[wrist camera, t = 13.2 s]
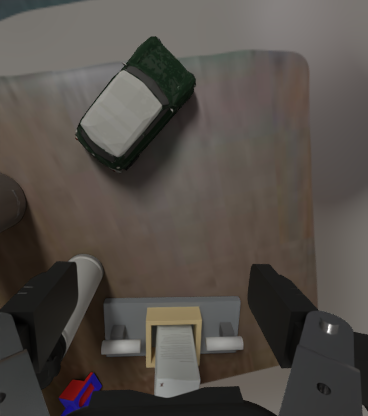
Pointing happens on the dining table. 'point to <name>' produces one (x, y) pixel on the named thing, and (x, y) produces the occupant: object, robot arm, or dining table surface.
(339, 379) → the robot arm
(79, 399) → the toy building block
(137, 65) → the miniature car
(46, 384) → the travel mug
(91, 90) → the dining table surface
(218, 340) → the stand
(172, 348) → the skincare box
